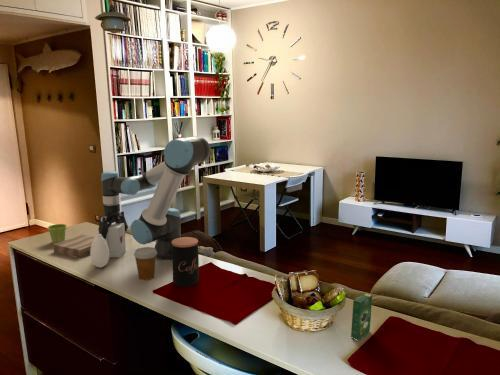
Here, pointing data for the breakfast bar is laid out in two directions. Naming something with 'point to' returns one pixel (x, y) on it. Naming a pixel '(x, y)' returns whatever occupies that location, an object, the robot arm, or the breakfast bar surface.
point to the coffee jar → (185, 261)
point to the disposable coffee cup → (145, 262)
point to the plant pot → (57, 232)
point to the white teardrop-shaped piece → (99, 251)
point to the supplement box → (116, 240)
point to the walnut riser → (75, 246)
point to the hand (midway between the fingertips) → (114, 247)
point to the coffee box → (361, 316)
